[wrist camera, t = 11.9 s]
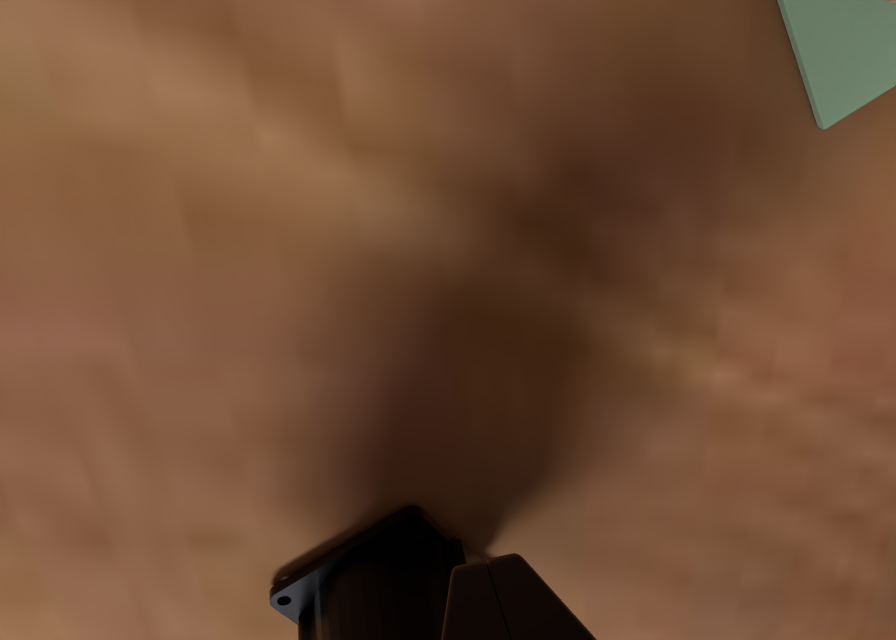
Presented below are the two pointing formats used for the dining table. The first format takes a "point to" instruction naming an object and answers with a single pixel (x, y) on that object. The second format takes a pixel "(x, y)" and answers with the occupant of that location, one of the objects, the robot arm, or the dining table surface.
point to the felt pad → (842, 52)
